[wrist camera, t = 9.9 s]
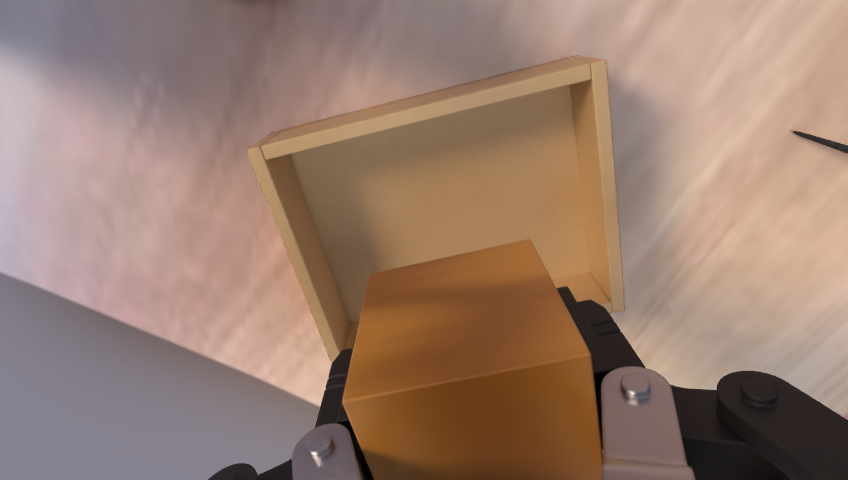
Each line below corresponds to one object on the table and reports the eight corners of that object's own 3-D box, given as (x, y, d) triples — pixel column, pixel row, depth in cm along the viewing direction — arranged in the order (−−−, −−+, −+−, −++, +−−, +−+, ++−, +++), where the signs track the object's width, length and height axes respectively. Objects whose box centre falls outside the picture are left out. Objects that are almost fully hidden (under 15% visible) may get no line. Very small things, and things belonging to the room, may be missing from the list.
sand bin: (344, 328, 26) (333, 369, 23) (271, 132, 21) (245, 149, 18) (599, 274, 25) (625, 310, 21) (577, 55, 20) (607, 59, 17)
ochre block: (409, 396, 15) (403, 555, 10) (368, 273, 13) (340, 401, 9) (551, 368, 14) (611, 522, 10) (530, 237, 13) (591, 353, 8)
